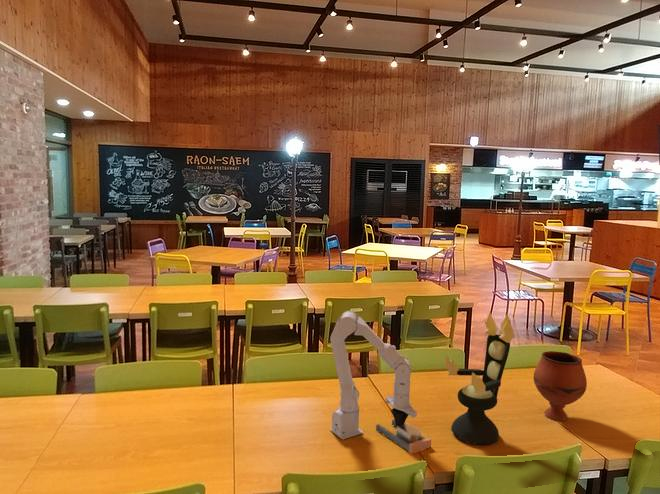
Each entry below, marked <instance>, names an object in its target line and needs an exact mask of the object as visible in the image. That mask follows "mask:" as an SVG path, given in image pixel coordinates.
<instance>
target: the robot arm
mask: <svg viewBox="0 0 660 494" xmlns="http://www.w3.org/2000/svg"><path fill="white" fill-rule="evenodd" d="M351 334H354V336H362V337H363V338H365V340H366V341H368V342H369V343H370V344H371V345H372V346H373V347H374V348H375V349H376V350H378V356H379V357H380V358H381V360H383V361H384V362H385V363H386V364H387V365H388V366H389V367H390V369H393V373H394V379H393V393H392V394H393V395H392V396H393V397H392V396H387V397H385V403H386V404H389V405H391V406H392V407H393V408H391V410H390V413H391V414H392V417H393V418H394V419H395V423H396V428H395V429H397V426H399V425H402V424H405V423H406V420H407V418H408V416H410V418H412V419H413V418H416V417H417V416H418V411H417V410H415V409H414V408H413V407H412V406H411V404H412V403H411V402H410V394H411V392H410V391H411V376H412V367H411V366H412V364H411V361H410V360H409V358H407V357H405V355H402V354H401V353H400V352H399V351H398V350H397V347H396V346H395V345H394V344H393V345H392V344H391V343H385V342H384V341H383V340H382V339H381V338H380V337H379V336H378V334H377V333H376V332H374V330H373V329H372V328H371V327H370V325H368V324H367V322H365V321H364V319H363V318H362V317H361V316H358V314H357V313H356V312H355V311H352V310H346V311H344V312H343V313H342V314H341V315H340V316H339V317H338V319H337V321H336V323H335V326H334V328H333V331H332V332H331V335H330V338H329V339H330V344H331V351H332V355H333V359H334V362H335V368H336V372H337V377H338V382H339V392H340V393H339V395H340V401H339V407H338V409H336V410H335V411H333V412H332V415H331V428H330V432H332V433H333V434H335V435H336V437H338V438H340V439H341V440H345V439H349V438H351V437H356V436H359V435H362V434H364V431H363V430H361V429H360V428H359V426H360V425H359V422H360V421H359V420H360V406H359V403H358V401H359V397H360V391H359V389H358V388H357V387H356V384H355V381H354V380H353V376H352V370H351V366H350V361H349V357H348V352H347V348H346V343H345V340H346V339H347V337H348V336H350V335H351ZM394 419H393V420H394Z"/></svg>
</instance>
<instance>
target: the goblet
mask: <svg viewBox="0 0 660 494" xmlns="http://www.w3.org/2000/svg"><path fill="white" fill-rule="evenodd" d="M582 362H583V360H582V358H580V357H578V356H576V355H573V354H570V353H568V352H563V351H553V350H551V351H544V352H542V353H541V357H540V360H539V362H538V363H537V365H536V367H535V369H534V371H533V383H534V384H535V388H536V389H537V391H538V392H539V393H540V395H541V396H542V397H543V398H544V399H545V400H546V401H548V403H549V405H550V407H548V408H546V409H545V410H544V412H543V414H545V415H544V416H545V417H546V416H547V417H546V418H547V419H550V418H551V419H550V420H552V419H553V421H556V420H557V421H558V422H565V421H568V419H567V418H568V414H567V413H566V411H564V408H565V407H566V406H568V405H571V404H573V403H575V402H576V401H578V400H580V399H581V398H582V397H583V396H584V394H585V393H586V390H587V387H588V386H587V384H588V382H587V375H586V372H585V369H584V367H583V363H582Z"/></svg>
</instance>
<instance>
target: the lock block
mask: <svg viewBox="0 0 660 494" xmlns="http://www.w3.org/2000/svg"><path fill="white" fill-rule="evenodd" d="M395 435H396V436H398V437H399V438H401V439H402V440H404V441H405V442H407V443H409V444H410V443H413V442H416V441H419V440H421V436H422V430H421V429H419V428H417V427H415V426H413V425H411V424H410V423H408V422H405V423H404V424H402V425H399V426H397V428H396V434H395Z"/></svg>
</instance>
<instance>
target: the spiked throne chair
mask: <svg viewBox="0 0 660 494" xmlns="http://www.w3.org/2000/svg"><path fill="white" fill-rule="evenodd" d="M492 315H493V314H492V313H491V312H489V313H488V315H487V317H486V319H485V322H484V325H485V330H484V333H485V334H487V335H488V336H487V338H486V345H485V357H484V363H483V364H484V366H483V369H479V368H477V369H476V368H458V366H457V364H456V363H455V362H454V360H452V359H450V358H449V357H448V356H446V355H445V356H444V357H445V358H444V368H445V369H447V373H446V375H447V376H466V377H467V376H470V377H471V382H470V383H471V384H468V385H466V386H463V387H462V388H461V389H459V390H458V392H457V395H456V396H457V400H458V402H459V403H460V404H461V405H463V406H464V407H466V408H468V409H467V410H466V412H465V413H463V414H461V415H459V416H458V417H457V418H455V420H454V421H453V422H452V424H451V427H450V430H451V432H452V434H453V435H454V436H455V437H456V436H457V437H456V438H457V439H459V440H461V441H463V442H464V441H466V443H468V442H469V443H468V444H471V443H473V444H472V445H477V444H478V446H486V445H491V444H493V443H495V442H496V441H497V440H498V439H499V437H500V434H499V433H500V432H499V429H498V428H497V425H496V424H495V423H494V422H493V421H492V420H491V419H490V418H489V417H488V416H487V415H486V411H489V410H492V409H494V408H495V407H496V406H497V404H498V393H499V389H500V387H501V385H502V377H503V374H504V371H505V366H506V364H507V360H508V358H509V353H510V348H511V342H512V340H513V339H514V338H515V334H514V329H513V325H512V321H511V318H510V317H509V314H508V313H506V315H505V317H504V318H503V319H502V321H501V323H500V330H499V329H498V326H497V324H496V321H495V320H494V318H493V316H492ZM498 330H499V333H498V334H497V332H498ZM481 376H482V377H481Z"/></svg>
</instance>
